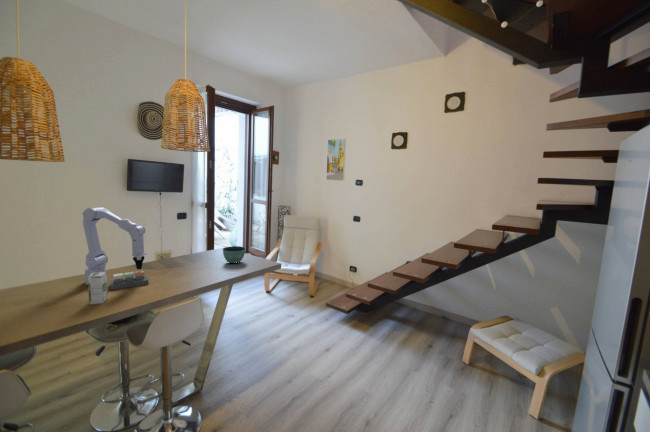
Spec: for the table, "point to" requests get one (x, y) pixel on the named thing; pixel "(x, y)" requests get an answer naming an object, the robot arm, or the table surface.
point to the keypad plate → (128, 283)
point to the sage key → (129, 276)
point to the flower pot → (233, 254)
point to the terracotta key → (139, 275)
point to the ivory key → (118, 278)
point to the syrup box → (97, 288)
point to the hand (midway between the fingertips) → (139, 269)
